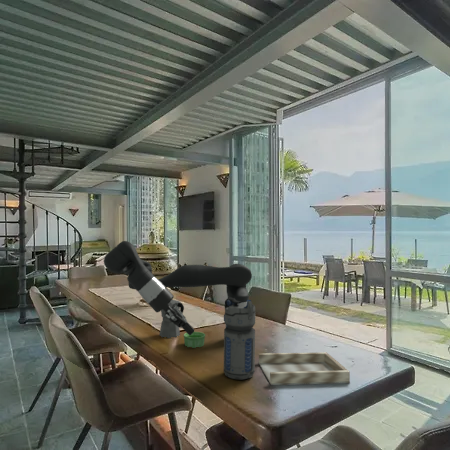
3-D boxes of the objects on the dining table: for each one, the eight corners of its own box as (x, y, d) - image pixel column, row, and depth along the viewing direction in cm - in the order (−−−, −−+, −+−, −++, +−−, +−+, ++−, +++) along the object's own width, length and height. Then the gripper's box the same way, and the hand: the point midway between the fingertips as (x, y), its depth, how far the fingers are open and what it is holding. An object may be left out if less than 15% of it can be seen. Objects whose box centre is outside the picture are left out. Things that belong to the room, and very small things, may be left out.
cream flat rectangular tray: (270, 385, 106) (271, 373, 106) (258, 363, 124) (258, 353, 124) (349, 383, 109) (349, 371, 109) (326, 361, 127) (326, 352, 127)
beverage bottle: (236, 364, 122) (238, 293, 123) (262, 377, 112) (263, 299, 113) (213, 371, 116) (214, 296, 117) (237, 384, 106) (239, 302, 107)
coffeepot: (152, 334, 158) (153, 294, 159) (168, 330, 165) (169, 292, 166) (174, 341, 148) (175, 299, 149) (190, 337, 155) (191, 296, 156)
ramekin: (188, 341, 150) (188, 330, 150) (208, 343, 147) (208, 332, 147) (179, 347, 141) (180, 336, 141) (200, 349, 139) (200, 338, 139)
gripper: (149, 298, 118) (184, 335, 119) (144, 306, 105) (183, 347, 106) (165, 283, 119) (200, 319, 120) (163, 289, 106) (201, 330, 107)
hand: (192, 332), depth 113 cm, fingers closed
